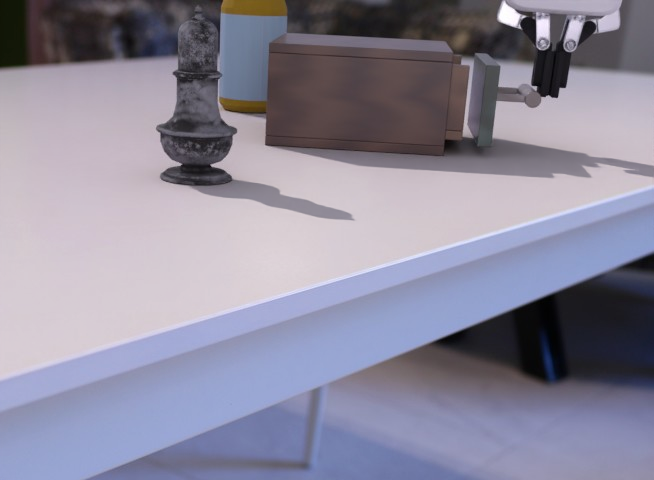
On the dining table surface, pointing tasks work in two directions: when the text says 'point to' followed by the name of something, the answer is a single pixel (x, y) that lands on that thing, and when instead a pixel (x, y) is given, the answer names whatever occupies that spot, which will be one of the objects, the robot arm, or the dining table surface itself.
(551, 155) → the dining table surface
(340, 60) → the cabinet
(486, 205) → the dining table surface
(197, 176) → the salt shaker
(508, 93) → the drawer
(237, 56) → the bottle
